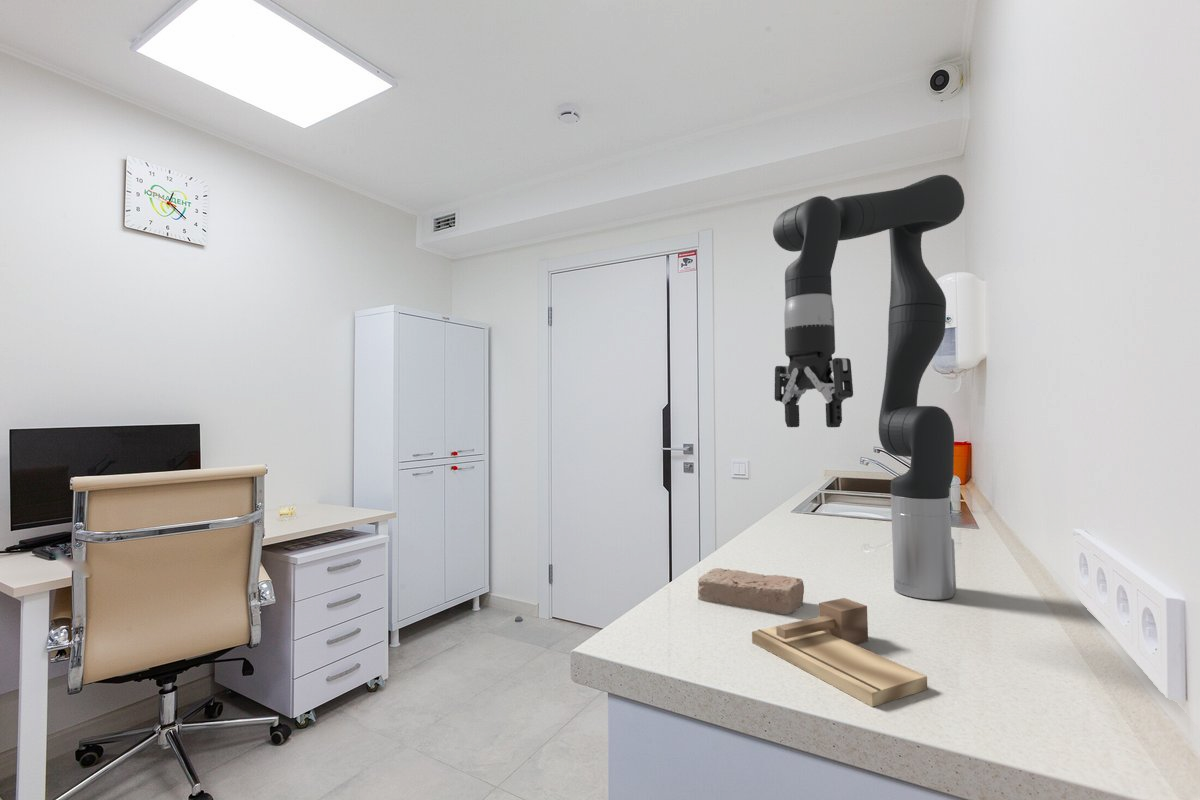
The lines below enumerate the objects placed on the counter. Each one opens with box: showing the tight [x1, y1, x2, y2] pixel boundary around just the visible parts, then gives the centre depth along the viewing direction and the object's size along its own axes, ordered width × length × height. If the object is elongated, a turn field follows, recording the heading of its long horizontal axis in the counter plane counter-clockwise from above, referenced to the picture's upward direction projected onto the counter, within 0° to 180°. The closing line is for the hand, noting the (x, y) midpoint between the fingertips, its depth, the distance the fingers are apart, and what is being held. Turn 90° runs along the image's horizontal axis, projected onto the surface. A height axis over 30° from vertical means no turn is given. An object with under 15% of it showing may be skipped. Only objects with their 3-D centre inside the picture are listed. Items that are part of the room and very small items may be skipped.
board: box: [751, 626, 928, 708], centre depth 73 cm, size 9×20×2 cm, turn 24°
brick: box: [697, 567, 805, 615], centre depth 98 cm, size 17×8×5 cm, turn 56°
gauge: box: [775, 597, 869, 645], centre depth 79 cm, size 15×4×5 cm, turn 115°
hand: (812, 427), depth 90 cm, fingers open, 8 cm apart
